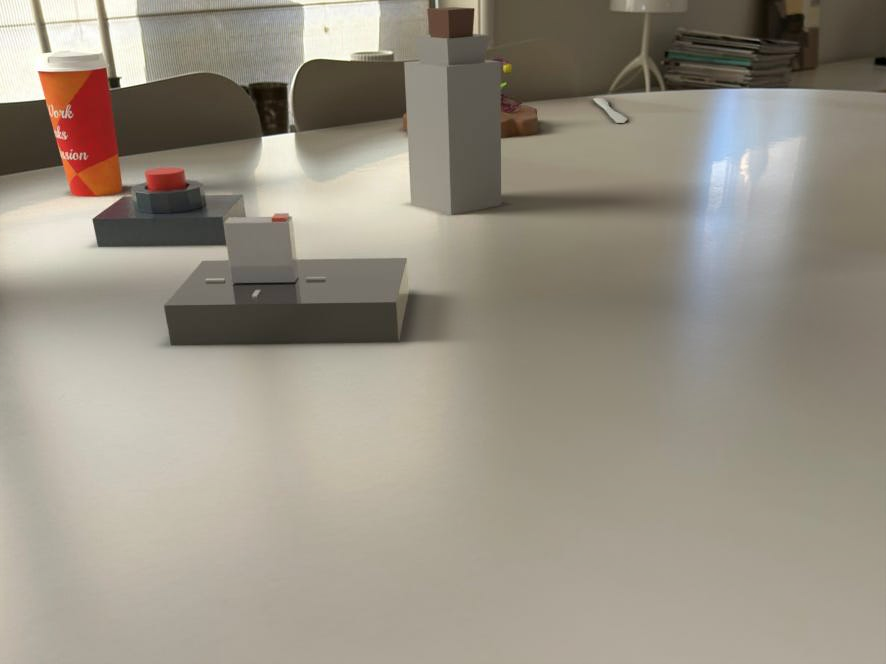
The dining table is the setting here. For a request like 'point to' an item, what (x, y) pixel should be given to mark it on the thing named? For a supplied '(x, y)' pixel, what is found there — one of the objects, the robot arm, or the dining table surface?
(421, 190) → the perfume bottle
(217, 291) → the dark grey base block
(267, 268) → the white block red tab
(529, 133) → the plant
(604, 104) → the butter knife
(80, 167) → the paper cup
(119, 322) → the dining table surface
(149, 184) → the power button
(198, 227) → the switch block
